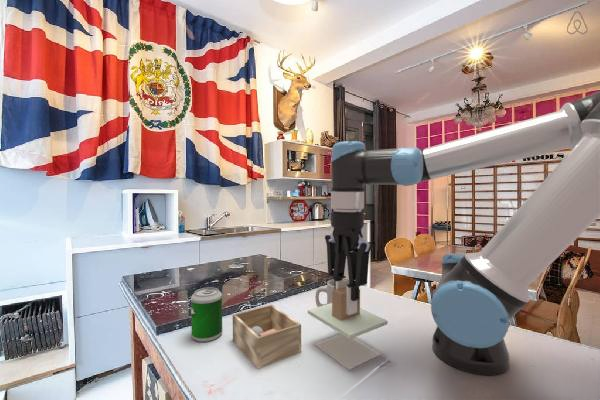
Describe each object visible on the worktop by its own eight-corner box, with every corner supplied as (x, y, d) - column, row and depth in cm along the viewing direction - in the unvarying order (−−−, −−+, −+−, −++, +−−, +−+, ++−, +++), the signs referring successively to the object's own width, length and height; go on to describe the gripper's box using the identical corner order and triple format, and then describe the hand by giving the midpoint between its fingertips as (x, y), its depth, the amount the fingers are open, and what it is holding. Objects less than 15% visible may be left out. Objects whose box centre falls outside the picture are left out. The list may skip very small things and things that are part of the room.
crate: (301, 354, 67) (301, 324, 67) (257, 371, 61) (257, 338, 60) (271, 330, 79) (271, 304, 78) (232, 342, 72) (232, 314, 72)
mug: (357, 315, 88) (357, 279, 87) (355, 328, 79) (356, 288, 79) (317, 311, 90) (317, 276, 90) (312, 323, 82) (312, 285, 82)
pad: (381, 356, 66) (381, 353, 66) (349, 372, 60) (349, 369, 60) (344, 334, 76) (344, 332, 76) (314, 346, 70) (314, 343, 70)
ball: (266, 342, 71) (266, 327, 71) (252, 346, 69) (252, 332, 69) (259, 336, 74) (259, 322, 74) (246, 340, 72) (246, 326, 72)
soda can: (227, 332, 77) (227, 287, 77) (212, 347, 70) (211, 298, 70) (203, 328, 79) (202, 285, 79) (185, 342, 72) (184, 295, 72)
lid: (387, 328, 65) (388, 294, 65) (349, 344, 59) (350, 306, 58) (342, 306, 77) (343, 277, 77) (307, 317, 71) (307, 285, 71)
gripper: (386, 212, 62) (384, 319, 63) (336, 207, 76) (335, 296, 77) (361, 213, 58) (360, 328, 59) (313, 208, 71) (312, 302, 72)
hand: (346, 310), depth 68 cm, fingers closed on lid, 3 cm apart
